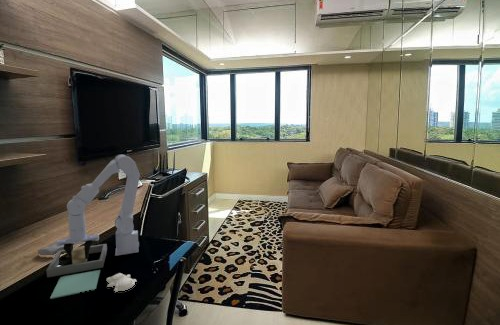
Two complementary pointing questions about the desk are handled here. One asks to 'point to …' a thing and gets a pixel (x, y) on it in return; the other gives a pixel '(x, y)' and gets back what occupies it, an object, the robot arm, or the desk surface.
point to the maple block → (78, 255)
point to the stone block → (51, 249)
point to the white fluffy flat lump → (121, 282)
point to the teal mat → (76, 284)
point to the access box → (78, 267)
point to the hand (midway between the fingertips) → (79, 259)
